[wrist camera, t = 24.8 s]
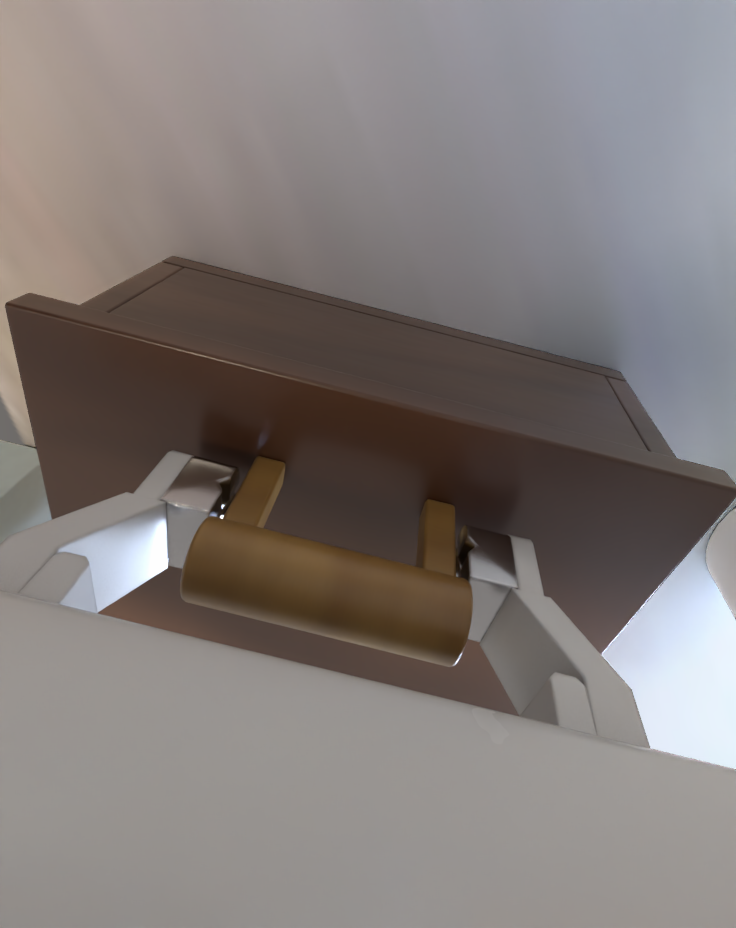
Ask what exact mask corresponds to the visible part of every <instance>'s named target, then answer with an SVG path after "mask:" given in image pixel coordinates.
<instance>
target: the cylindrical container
mask: <svg viewBox="0 0 736 928" xmlns="http://www.w3.org/2000/svg"><path fill="white" fill-rule="evenodd" d="M706 564H707V567H708V570H709V573H710V574H711V576H712V578H713V580H714V581H715V583H716V585H717V587H718V589H719V590H720V592H721V594H722V596H723V598H724V599H725V601H726V603H727V605H728V606H729V608H730V610H731V612H732V614H733V615H734V617H735V619H736V508H734V509H733V510H732V511H730V512H729V513H728V514H727V516H726V517H725V518H724V519H723V520H722V521H721V522H720V523H719V524H718V525H717V527H716V529H715V530H714V532H713V534H712V535H711V537H710V539H709V542H708V546H707V549H706Z"/></svg>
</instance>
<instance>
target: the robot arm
mask: <svg viewBox="0 0 736 928" xmlns="http://www.w3.org/2000/svg"><path fill="white" fill-rule="evenodd" d="M239 478H240V470H239V468H238V467H234V466H231V465H227V464H223V463H220V462H216V461H212V460H209V459H205V458H202V457H198V456H193V455H189V454H186V453H182V452H178V451H174V450H172V451H170V452H168V453H166V455H165V456H164V457H163V458H162V459H161V461H160V462H159V463H158V464H157V465H156V467H155V468H154V469H153V470H152V471H151V473H150V474H149V475H148V476H147V477H146V479H145V480H144V481H143V482H142V483H141V485H140V486H139V487H138V488H137V489H136V491H135V492H134V493H133V494H132V493H128V492H125V493H123V494H120V495H117V496H114V497H112V498H109V499H106V500H104V501H101V502H98V503H96V504H93V505H90V506H87V507H85V508H82V509H79V510H77V511H74V512H71V513H68V514H66V515H63V516H60V517H58V518H55V519H52V520H50V521H47V522H44V523H41V524H39V525H36V526H33V527H31V528H28V529H25V530H23V531H20V532H17V533H14V534H12V535H9V536H8V537H7V538H6V539H5V540H4V541H3V542H2V543H1V544H0V928H736V769H733V768H728V767H724V766H720V765H716V764H712V763H708V762H704V761H700V760H696V759H692V758H687V757H683V756H679V755H675V754H671V753H667V752H663V751H659V750H655V749H651V748H650V746H649V742H648V739H647V736H646V733H645V730H644V727H643V724H642V721H641V717H640V714H639V711H638V708H637V705H636V702H635V699H634V696H633V692H632V690H631V688H630V687H629V686H628V685H627V684H626V683H625V682H624V680H623V679H622V678H621V677H620V676H619V675H618V674H617V672H616V671H615V670H614V669H613V668H612V667H611V666H610V665H609V663H608V662H607V661H606V660H605V659H604V658H603V657H602V655H601V654H600V653H599V652H598V651H597V650H596V649H595V647H594V646H593V645H592V644H591V643H590V642H589V641H588V639H587V638H586V637H585V636H584V635H583V634H582V633H581V632H580V630H579V629H578V628H577V627H576V626H575V625H574V624H573V622H572V621H571V620H570V619H569V618H568V617H567V616H566V614H565V613H564V612H563V611H562V610H561V609H560V608H559V606H558V605H557V604H556V603H555V602H554V601H553V600H552V598H550V597H546V596H544V592H543V587H542V582H541V578H540V573H539V568H538V564H537V559H536V554H535V549H534V545H533V542H532V541H531V540H530V539H526V538H521V537H517V536H512V535H506V534H502V533H497V532H493V531H489V530H485V529H481V528H477V527H473V526H469V525H464V526H463V527H462V528H461V530H460V533H459V535H458V537H457V539H458V548H456V577H460V578H464V579H466V580H467V581H469V583H470V585H471V588H472V595H473V611H472V620H471V626H470V631H469V635H468V639H469V640H473V641H477V642H480V646H481V648H482V649H483V651H484V653H485V655H486V657H487V658H488V660H489V662H490V664H491V665H492V667H493V669H494V671H495V673H496V674H497V676H498V678H499V680H500V682H501V683H502V685H503V687H504V689H505V691H506V692H507V694H508V696H509V698H510V700H511V701H512V703H513V705H514V707H515V709H516V710H517V712H518V714H519V716H516V715H511V714H507V713H503V712H499V711H495V710H491V709H487V708H483V707H479V706H475V705H471V704H467V703H462V702H458V701H454V700H450V699H446V698H442V697H438V696H434V695H430V694H426V693H421V692H417V691H413V690H409V689H405V688H401V687H397V686H393V685H389V684H385V683H381V682H376V681H372V680H368V679H364V678H360V677H356V676H352V675H348V674H344V673H340V672H336V671H331V670H327V669H323V668H319V667H315V666H311V665H307V664H303V663H299V662H295V661H291V660H286V659H282V658H278V657H274V656H270V655H266V654H262V653H258V652H254V651H250V650H245V649H241V648H237V647H233V646H229V645H225V644H221V643H217V642H213V641H209V640H205V639H200V638H196V637H192V636H188V635H184V634H180V633H176V632H172V631H168V630H164V629H159V628H155V627H151V626H147V625H143V624H139V623H135V622H131V621H127V620H123V619H119V618H114V617H110V616H106V615H102V614H98V612H99V611H101V610H103V609H104V608H106V607H107V606H109V605H110V604H112V603H114V602H115V601H117V600H118V599H120V598H121V597H123V596H125V595H126V594H128V593H129V592H131V591H132V590H134V589H135V588H137V587H139V586H140V585H142V584H143V583H145V582H146V581H148V580H150V579H151V578H153V577H154V576H156V575H157V574H159V573H160V572H162V571H164V570H165V569H167V568H168V566H172V567H177V568H182V569H183V565H184V561H185V558H186V554H187V552H188V549H189V546H190V544H191V541H192V539H193V537H194V535H195V533H196V531H197V530H198V528H199V526H200V525H201V524H202V522H203V521H204V520H205V519H206V518H207V517H210V516H216V517H220V518H223V516H224V515H225V513H226V511H227V509H228V507H229V506H230V504H231V502H232V500H233V498H234V497H235V495H236V494H235V492H234V491H235V489H236V488H237V486H238V484H239Z"/></svg>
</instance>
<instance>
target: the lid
mask: <svg viewBox="0 0 736 928" xmlns="http://www.w3.org/2000/svg"><path fill="white" fill-rule="evenodd" d="M5 308H6V313H7V317H8V322H9V326H10V331H11V335H12V340H13V345H14V349H15V354H16V358H17V363H18V367H19V372H20V377H21V381H22V386H23V390H24V395H25V399H26V404H27V408H28V413H29V418H30V422H31V427H32V431H33V436H34V440H35V445H36V450H37V454H38V459H39V463H40V468H41V472H42V477H43V481H44V486H45V491H46V495H47V500H48V504H49V509H50V513H51V518H52V519H55V518H58V517H60V516H63V515H66V514H68V513H71V512H74V511H77V510H79V509H82V508H85V507H87V506H90V505H93V504H96V503H98V502H101V501H104V500H106V499H109V498H112V497H114V496H117V495H120V494H123V493H125V492H128V493H132V494H133V493H134V492H135V491H136V489H137V488H138V487H139V486H140V485H141V483H142V482H143V481H144V480H145V479H146V477H147V476H148V475H149V474H150V473H151V471H152V470H153V469H154V468H155V467H156V465H157V464H158V463H159V462H160V461H161V459H162V458H163V457H164V456H165V455H166V453H168V452H170V451H172V450H174V451H178V452H182V453H186V454H189V455H193V456H198V457H202V458H205V459H209V460H212V461H216V462H220V463H223V464H227V465H231V466H234V467H238V468H239V470H240V478H239V484H238V486H237V488H236V489H235V491H234V492H235V494H236V495H235V497H234V498H233V500H232V502H231V504H230V506H229V507H228V509H227V511H226V513H225V515H224V516H223V518H220V517H216V516H210V517H207V518H206V519H205V520H204V521H203V522H202V524H201V525H200V526H199V528H198V530H197V531H196V533H195V535H194V537H193V539H192V541H191V544H190V546H189V549H188V552H187V554H186V558H185V561H184V565H183V569H182V568H177V567H172V566H168V568H167V569H165V570H164V571H162V572H160V573H159V574H157V575H156V576H154V577H153V578H151V579H150V580H148V581H146V582H145V583H143V584H142V585H140V586H139V587H137V588H135V589H134V590H132V591H131V592H129V593H128V594H126V595H125V596H123V597H121V598H120V599H118V600H117V601H115V602H114V603H112V604H110V605H109V606H107V607H106V608H104V609H103V610H101V611H99V612H98V614H102V615H106V616H110V617H114V618H119V619H123V620H127V621H131V622H135V623H139V624H143V625H147V626H151V627H155V628H159V629H164V630H168V631H172V632H176V633H180V634H184V635H188V636H192V637H196V638H200V639H205V640H209V641H213V642H217V643H221V644H225V645H229V646H233V647H237V648H241V649H245V650H250V651H254V652H258V653H262V654H266V655H270V656H274V657H278V658H282V659H286V660H291V661H295V662H299V663H303V664H307V665H311V666H315V667H319V668H323V669H327V670H331V671H336V672H340V673H344V674H348V675H352V676H356V677H360V678H364V679H368V680H372V681H376V682H381V683H385V684H389V685H393V686H397V687H401V688H405V689H409V690H413V691H417V692H421V693H426V694H430V695H434V696H438V697H442V698H446V699H450V700H454V701H458V702H462V703H467V704H471V705H475V706H479V707H483V708H487V709H491V710H495V711H499V712H503V713H507V714H511V715H516V716H519V714H518V712H517V710H516V709H515V707H514V705H513V703H512V701H511V700H510V698H509V696H508V694H507V692H506V691H505V689H504V687H503V685H502V683H501V682H500V680H499V678H498V676H497V674H496V673H495V671H494V669H493V667H492V665H491V664H490V662H489V660H488V658H487V657H486V655H485V653H484V651H483V649H482V648H481V646H480V642H477V641H473V640H469V639H468V635H469V631H470V626H471V620H472V611H473V595H472V588H471V585H470V583H469V581H467V580H466V579H464V578H460V577H456V548H458V539H457V537H458V535H459V533H460V530H461V528H462V527H463V526H464V525H469V526H473V527H477V528H481V529H485V530H489V531H493V532H497V533H502V534H506V535H512V536H517V537H521V538H526V539H530V540H531V541H532V542H533V545H534V549H535V554H536V559H537V564H538V568H539V573H540V578H541V582H542V587H543V592H544V596H546V597H550V598H552V600H553V601H554V602H555V603H556V604H557V605H558V606H559V608H560V609H561V610H562V611H563V612H564V613H565V614H566V616H567V617H568V618H569V619H570V620H571V621H572V622H573V624H574V625H575V626H576V627H577V628H578V629H579V630H580V632H581V633H582V634H583V635H584V636H585V637H586V638H587V639H588V641H589V642H590V643H591V644H592V645H593V646H594V647H595V649H596V650H597V651H598V652H599V653H600V654H601V655H602V654H603V653H604V652H605V650H606V649H607V648H608V647H609V646H610V645H611V643H612V642H613V641H614V640H615V639H616V638H617V636H618V635H619V634H620V633H621V632H622V630H623V629H624V628H625V627H626V626H627V625H628V623H629V622H630V621H631V620H632V619H633V618H634V616H635V615H636V614H637V613H638V612H639V611H640V609H641V608H642V607H643V606H644V605H645V603H646V602H647V601H648V600H649V599H650V598H651V596H652V595H653V594H654V593H655V592H656V591H657V589H658V588H659V587H660V586H661V585H662V584H663V582H664V581H665V580H666V579H667V578H668V576H669V575H670V574H671V573H672V572H673V571H674V569H675V568H676V567H677V566H678V565H679V564H680V562H681V561H682V560H683V559H684V558H685V557H686V555H687V554H688V553H689V552H690V551H691V549H692V548H693V547H694V546H695V545H696V544H697V542H698V541H699V540H700V539H701V538H702V537H703V535H704V534H705V533H706V532H707V531H708V530H709V528H710V527H711V526H712V525H713V524H714V522H715V521H716V520H717V519H718V518H719V517H720V515H721V514H722V513H723V512H724V511H725V510H726V508H727V507H728V506H729V505H730V504H731V503H732V501H733V500H734V499H735V498H736V485H735V483H734V482H733V481H732V479H731V478H730V477H729V475H728V474H727V473H726V472H725V471H724V470H720V469H717V468H713V467H709V466H705V465H701V464H697V463H693V462H689V461H685V460H681V459H677V458H674V457H670V456H666V455H662V454H658V453H654V452H650V451H646V450H642V449H638V448H635V447H631V446H627V445H623V444H619V443H615V442H611V441H607V440H603V439H599V438H595V437H592V436H588V435H584V434H580V433H576V432H572V431H568V430H564V429H560V428H556V427H553V426H549V425H545V424H541V423H537V422H533V421H529V420H525V419H521V418H517V417H513V416H510V415H506V414H502V413H498V412H494V411H490V410H486V409H482V408H478V407H474V406H471V405H467V404H463V403H459V402H455V401H451V400H447V399H443V398H439V397H435V396H431V395H428V394H424V393H420V392H416V391H412V390H408V389H404V388H400V387H396V386H392V385H388V384H385V383H381V382H377V381H373V380H369V379H365V378H361V377H357V376H353V375H349V374H346V373H342V372H338V371H334V370H330V369H326V368H322V367H318V366H314V365H310V364H306V363H303V362H299V361H295V360H291V359H287V358H283V357H279V356H275V355H271V354H267V353H264V352H260V351H256V350H252V349H248V348H244V347H240V346H236V345H232V344H228V343H224V342H221V341H217V340H213V339H209V338H205V337H201V336H197V335H193V334H189V333H185V332H182V331H178V330H174V329H170V328H166V327H162V326H158V325H154V324H150V323H146V322H142V321H139V320H135V319H131V318H127V317H123V316H119V315H115V314H111V313H107V312H103V311H99V310H96V309H92V308H88V307H84V306H80V305H76V304H72V303H68V302H64V301H60V300H57V299H53V298H49V297H45V296H41V295H37V294H33V293H27V294H25V295H23V296H20V297H18V298H16V299H13V300H11V301H9V302H7V303H6V304H5Z"/></svg>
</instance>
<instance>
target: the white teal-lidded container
mask: <svg viewBox="0 0 736 928" xmlns="http://www.w3.org/2000/svg"><path fill="white" fill-rule="evenodd" d="M50 520H52V518H51V513H50V509H49V504H48V500H47V495H46V491H45V486H44V481H43V477H42V472H41V468H40V463H39V459H38V454H37V450H36V449H35V448H31V447H27V446H24V445H20V444H15V443H11V442H7V441H4V440H0V544H1V543H2V542H3V541H4V540H5V539H6V538H7V537H8V536H9V535H12V534H14V533H17V532H20V531H23V530H25V529H28V528H31V527H33V526H36V525H39V524H41V523H44V522H47V521H50Z"/></svg>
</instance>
